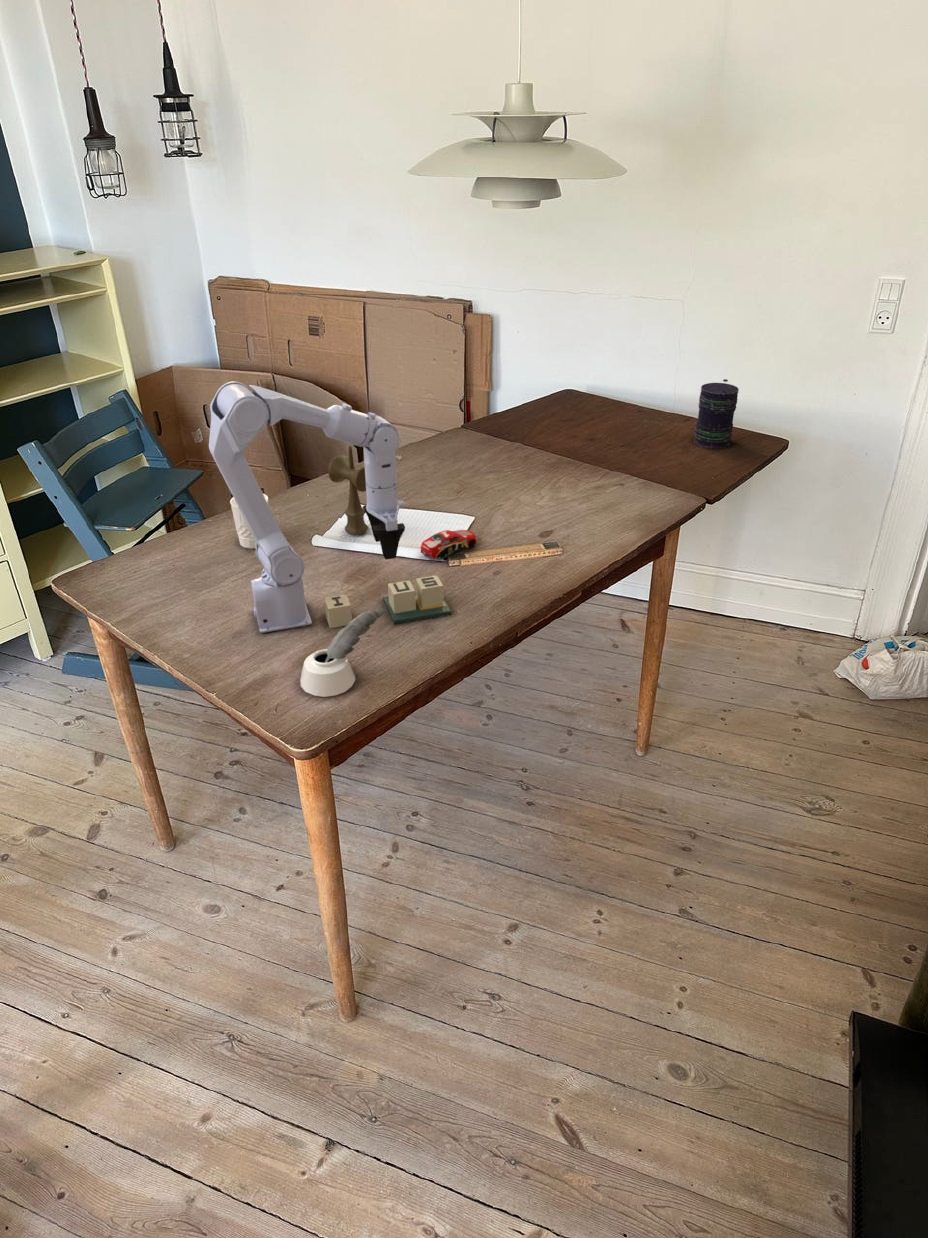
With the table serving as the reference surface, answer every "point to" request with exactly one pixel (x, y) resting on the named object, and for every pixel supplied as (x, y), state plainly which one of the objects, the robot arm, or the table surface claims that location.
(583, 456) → the table surface
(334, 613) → the block
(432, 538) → the race car
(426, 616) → the green board
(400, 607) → the U block
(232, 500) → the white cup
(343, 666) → the inkwell
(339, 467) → the kendama
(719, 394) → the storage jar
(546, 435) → the table surface
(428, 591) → the block
